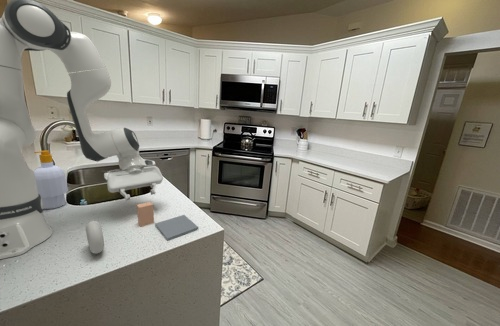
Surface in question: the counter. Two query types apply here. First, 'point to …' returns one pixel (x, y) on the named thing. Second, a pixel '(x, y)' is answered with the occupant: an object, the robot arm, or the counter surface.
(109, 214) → the counter surface
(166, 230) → the coaster
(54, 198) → the soap bottle
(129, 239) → the counter surface
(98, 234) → the donut
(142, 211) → the block
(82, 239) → the counter surface
